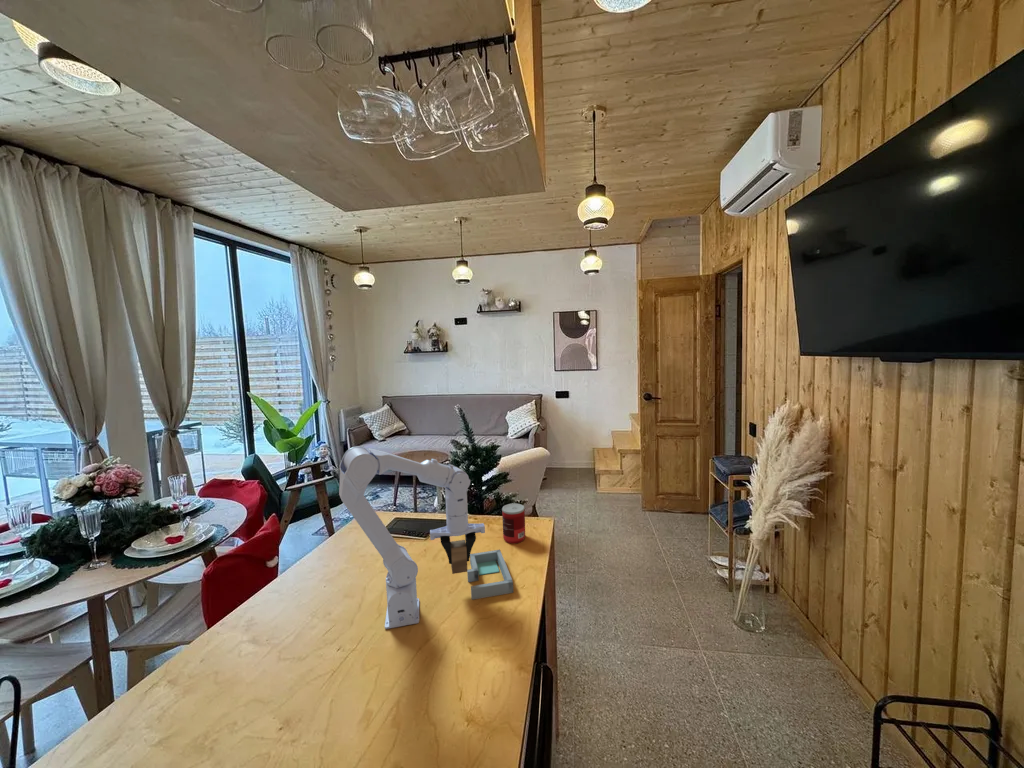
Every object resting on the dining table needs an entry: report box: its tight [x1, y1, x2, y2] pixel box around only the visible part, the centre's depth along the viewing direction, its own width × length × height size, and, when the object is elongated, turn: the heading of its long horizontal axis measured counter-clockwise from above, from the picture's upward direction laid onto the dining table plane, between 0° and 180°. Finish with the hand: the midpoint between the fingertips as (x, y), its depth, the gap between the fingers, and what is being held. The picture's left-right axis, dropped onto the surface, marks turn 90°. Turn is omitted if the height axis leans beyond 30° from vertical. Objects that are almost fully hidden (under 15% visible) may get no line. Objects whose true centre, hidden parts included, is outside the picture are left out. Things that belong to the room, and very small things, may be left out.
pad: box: [477, 561, 500, 576], centre depth 120 cm, size 6×6×1 cm
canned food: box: [501, 502, 526, 544], centre depth 138 cm, size 8×8×11 cm
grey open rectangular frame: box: [466, 549, 514, 601], centre depth 115 cm, size 18×11×3 cm, turn 13°
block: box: [450, 539, 468, 575], centre depth 108 cm, size 4×4×7 cm
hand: (458, 560), depth 108 cm, fingers closed on block, 4 cm apart
